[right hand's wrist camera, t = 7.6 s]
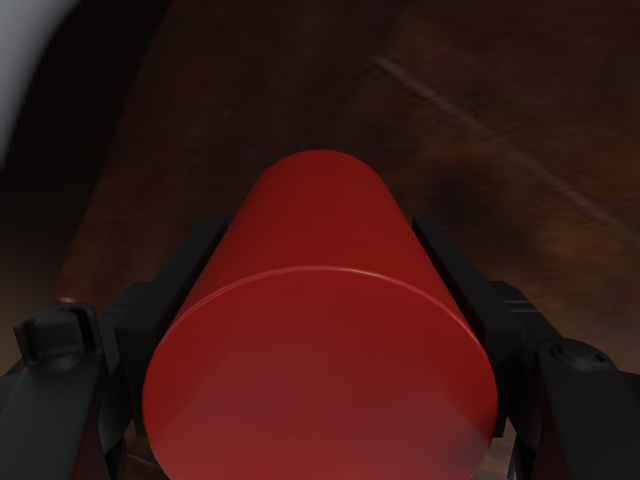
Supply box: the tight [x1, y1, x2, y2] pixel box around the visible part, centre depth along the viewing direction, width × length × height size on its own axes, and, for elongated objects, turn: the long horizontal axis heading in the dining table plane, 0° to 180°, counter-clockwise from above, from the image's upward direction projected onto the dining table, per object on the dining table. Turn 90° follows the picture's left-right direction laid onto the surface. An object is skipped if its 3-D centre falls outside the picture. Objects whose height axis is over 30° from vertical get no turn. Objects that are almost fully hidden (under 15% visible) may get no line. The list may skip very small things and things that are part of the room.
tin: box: [142, 150, 498, 480], centre depth 12 cm, size 6×6×10 cm
